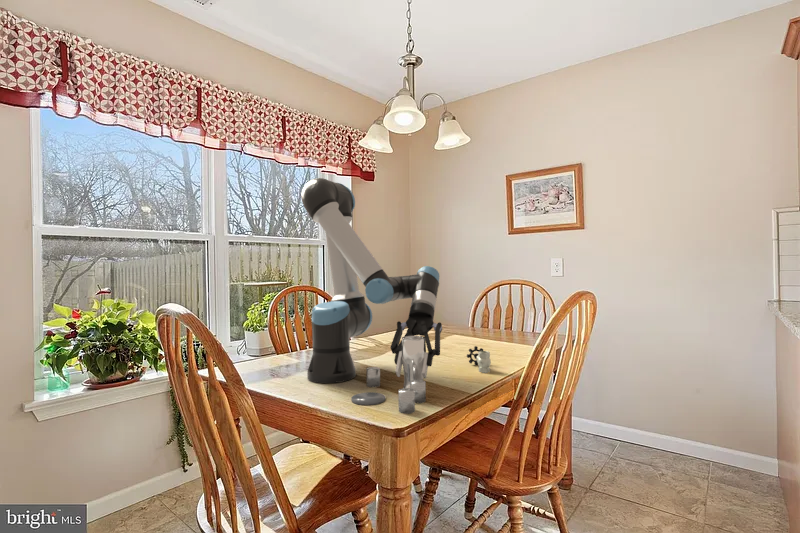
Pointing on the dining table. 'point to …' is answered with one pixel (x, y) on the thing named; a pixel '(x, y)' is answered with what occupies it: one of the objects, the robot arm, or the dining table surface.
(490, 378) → the dining table surface
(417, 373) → the beer glass
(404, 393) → the cylinder
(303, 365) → the dining table surface
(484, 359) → the valve
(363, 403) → the coaster
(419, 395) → the cylinder
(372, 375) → the spacer
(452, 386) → the dining table surface
